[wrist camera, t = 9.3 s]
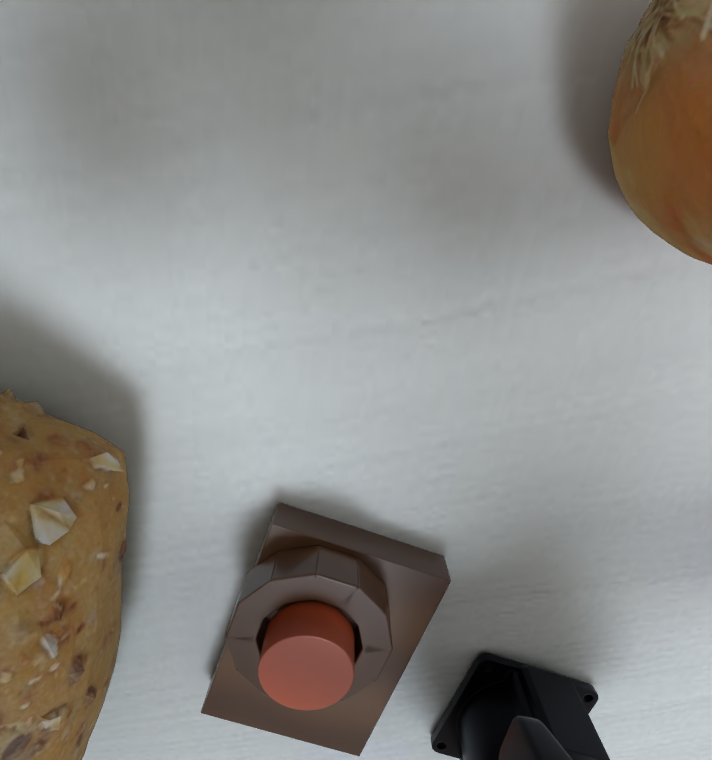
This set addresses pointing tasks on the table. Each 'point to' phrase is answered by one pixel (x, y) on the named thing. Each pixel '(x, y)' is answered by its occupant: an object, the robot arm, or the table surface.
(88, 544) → the bread
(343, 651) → the button
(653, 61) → the onion
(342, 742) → the button block
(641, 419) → the table surface
